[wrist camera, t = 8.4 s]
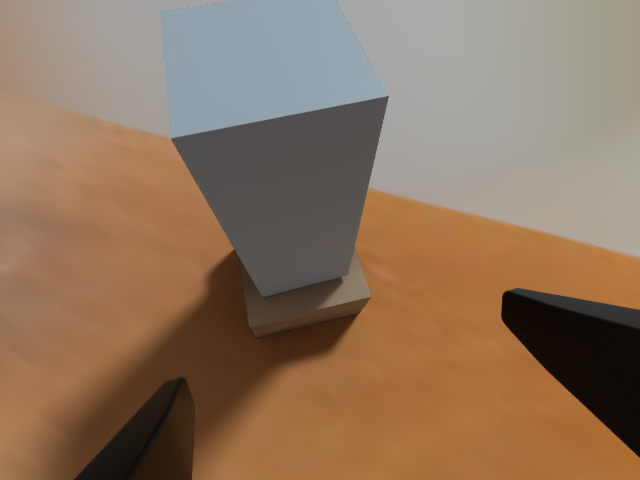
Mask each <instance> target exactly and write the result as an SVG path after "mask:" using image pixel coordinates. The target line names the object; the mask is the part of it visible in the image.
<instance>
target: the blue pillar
mask: <svg viewBox="0 0 640 480" xmlns="http://www.w3.org/2000/svg"><path fill="white" fill-rule="evenodd" d="M160 14H161V27H162V39H163V51H164V62H165V75H166V88H167V100H168V112H169V124H170V136H171V140H172V142H173V143H174V145H175V147H176V149H177V150H178V152H179V154H180V155H181V157H182V159H183V161H184V162H185V164H186V166H187V168H188V169H189V171H190V173H191V175H192V176H193V178H194V180H195V181H196V183H197V185H198V187H199V188H200V190H201V192H202V194H203V195H204V197H205V199H206V201H207V202H208V204H209V206H210V207H211V209H212V211H213V213H214V214H215V216H216V218H217V220H218V221H219V223H220V225H221V227H222V228H223V230H224V232H225V233H226V235H227V237H228V239H229V240H230V242H231V244H232V246H233V247H234V249H235V251H236V253H237V254H238V256H239V258H240V259H241V261H242V263H243V265H244V266H245V268H246V270H247V272H248V273H249V275H250V277H251V279H252V280H253V282H254V284H255V285H256V287H257V289H258V291H259V292H260V294H261V296H262V297H266V296H270V295H274V294H277V293H281V292H285V291H289V290H293V289H296V288H300V287H304V286H308V285H312V284H315V283H319V282H323V281H327V280H331V279H335V278H338V277H342V276H346V275H348V273H349V269H350V264H351V260H352V256H353V251H354V247H355V242H356V238H357V234H358V229H359V225H360V220H361V216H362V212H363V207H364V203H365V198H366V194H367V190H368V185H369V181H370V176H371V172H372V168H373V163H374V159H375V154H376V150H377V146H378V141H379V137H380V132H381V128H382V123H383V119H384V115H385V110H386V106H387V102H388V97H389V95H388V94H387V92H386V90H385V88H384V86H383V84H382V82H381V81H380V79H379V77H378V75H377V73H376V71H375V69H374V68H373V66H372V64H371V62H370V60H369V59H368V57H367V55H366V53H365V51H364V49H363V47H362V46H361V44H360V42H359V40H358V38H357V36H356V35H355V33H354V31H353V29H352V27H351V25H350V23H349V22H348V20H347V18H346V16H345V14H344V12H343V11H342V9H341V7H340V5H339V3H338V2H337V0H233V1H227V2H220V3H213V4H206V5H199V6H192V7H186V8H179V9H172V10H165V11H160Z"/></svg>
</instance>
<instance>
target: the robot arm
mask: <svg viewBox="0 0 640 480" xmlns="http://www.w3.org/2000/svg"><path fill="white" fill-rule="evenodd" d="M501 317H502V320H503V322H504V324H505V325H506V326H507V327H508V328H509V330H510V331H511V332H512V333H513V334H514V335H515V336H516V337H517V338H518V340H519V341H520V342H521V343H522V344H523V345H524V346H525V347H526V348H527V350H528V351H529V352H530V353H531V354H532V355H533V356H534V357H535V358H536V360H537V361H538V362H539V363H540V364H541V365H542V366H543V367H544V368H545V369H546V370H547V371H548V372H549V373H550V374H551V375H552V376H553V377H554V378H555V379H557V380H558V381H559V382H560V383H561V384H562V385H563V386H564V387H565V388H566V389H567V390H568V391H569V392H570V393H571V394H572V395H574V396H575V397H576V398H577V399H578V400H579V401H580V402H581V403H582V404H583V405H584V406H585V407H586V408H587V409H588V410H589V411H591V412H592V413H593V414H594V415H595V416H596V417H597V418H598V419H599V420H600V421H601V422H602V423H603V424H604V425H605V426H606V427H608V428H609V429H610V430H611V431H612V432H613V433H614V434H615V435H616V436H617V437H618V438H619V439H620V440H621V441H622V442H623V443H625V444H626V445H627V446H628V447H629V448H630V449H631V450H632V451H633V452H634V453H635V454H636V455H637V456H638V457H639V458H640V310H638V309H632V308H627V307H621V306H615V305H610V304H604V303H599V302H593V301H588V300H582V299H576V298H571V297H565V296H560V295H554V294H549V293H543V292H537V291H532V290H526V289H521V288H515V289H512V290H508V291H505V292H504V293H503V296H502V311H501ZM194 422H195V407H194V402H193V399H192V396H191V393H190V390H189V387H188V384H187V381H186V379H185V378H184V377H179V378H175V379H171V380H168V381H166V382H165V383H163V384H162V386H161V387H160V388H159V389H158V390H157V391H156V392H155V393H154V394H153V395H152V396H151V397H150V398H149V400H148V401H147V402H146V403H145V404H144V405H143V406H142V407H141V408H140V409H139V410H138V411H137V412H136V413H135V415H134V416H133V417H132V418H131V419H130V420H129V421H128V422H127V423H126V424H125V425H124V426H123V427H122V429H121V430H120V431H119V432H118V433H117V434H116V435H115V436H114V437H113V438H112V439H111V440H110V441H109V442H108V444H107V445H106V446H105V447H104V448H103V449H102V450H101V451H100V452H99V453H98V454H97V455H96V456H95V458H94V459H93V460H92V461H91V462H90V463H89V464H88V465H87V466H86V467H85V468H84V469H83V470H82V471H81V473H80V474H79V475H78V476H77V477H76V478H75V479H74V480H192V467H193V445H194Z"/></svg>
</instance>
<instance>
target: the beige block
mask: <svg viewBox="0 0 640 480" xmlns="http://www.w3.org/2000/svg"><path fill="white" fill-rule="evenodd" d="M238 259H239V266H240V272H241V278H242V285H243V291H244V297H245V304H246V310H247V317H248V323H249V327H250V328H251V330H252V332H253V333H254V335H255V336H256V338H260V337H264V336H268V335H272V334H276V333H280V332H284V331H288V330H292V329H296V328H300V327H304V326H308V325H312V324H316V323H320V322H324V321H328V320H332V319H336V318H340V317H344V316H349V315H353V314H357V313H360V312H361V310H362V309H363V308H364V306H365V305H366V304H367V302H368V301H369V299H370V298H371V297H372V296H371V293H370V290H369V287H368V285H367V282H366V279H365V276H364V273H363V270H362V267H361V264H360V261H359V258H358V255H357V252H356V249H355V247H354V251H353V256H352V260H351V264H350V269H349V273H348V275H346V276H342V277H338V278H335V279H331V280H327V281H323V282H319V283H315V284H312V285H308V286H304V287H300V288H296V289H293V290H289V291H285V292H281V293H277V294H274V295H270V296H266V297H262V296H261V294H260V292H259V291H258V289H257V287H256V285H255V284H254V282H253V280H252V279H251V277H250V275H249V273H248V272H247V270H246V268H245V266H244V265H243V263H242V261H241V259H240V258H239V256H238Z"/></svg>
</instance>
